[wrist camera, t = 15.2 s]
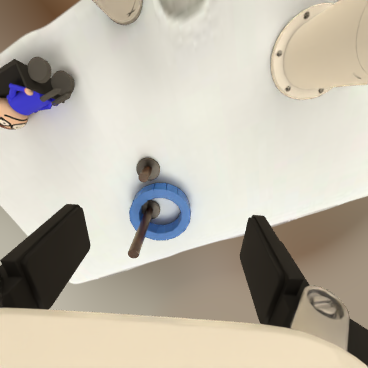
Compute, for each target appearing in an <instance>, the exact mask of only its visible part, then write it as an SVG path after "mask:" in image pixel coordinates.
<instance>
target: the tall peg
mask: <svg viewBox="0 0 368 368" xmlns="http://www.w3.org/2000/svg"><path fill="white" fill-rule="evenodd" d="M142 213H143V217H142V220H141V222H140V225H139V227H138V230H137V232H136V234H135V237H134V239H133V242H132V244H131V247H130V249H129V252H128V255H129V257H131V258H137V257H138V256H139V253H140V250H141V247H142V244H143V241H144V238H145V235H146V232H147V229H148V226H149V223H150V220H151V219H154V218H156V217H158V215H159V213H160V207H159V205H158V204H157V203H156V202H155V201H152V200H148V201H147V202H146V203H144V204H143V205H142Z"/></svg>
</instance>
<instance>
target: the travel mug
mask: <svg viewBox="0 0 368 368" xmlns="http://www.w3.org/2000/svg"><path fill="white" fill-rule="evenodd" d="M92 1H93V2H94V3H95V4H96V5H97V6H98V7H99V8H100V9H101V10H102V11H103V12H104V13H105V14H107V16H108V17H109V18H110V19H112V20H113V21H114V22H116V23H118V24H121V25H127V24H130V23H133V22H134V21H135V20H136V19H137V18H138V16H139V14H140V12H141V9H142V3H143V0H92Z"/></svg>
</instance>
